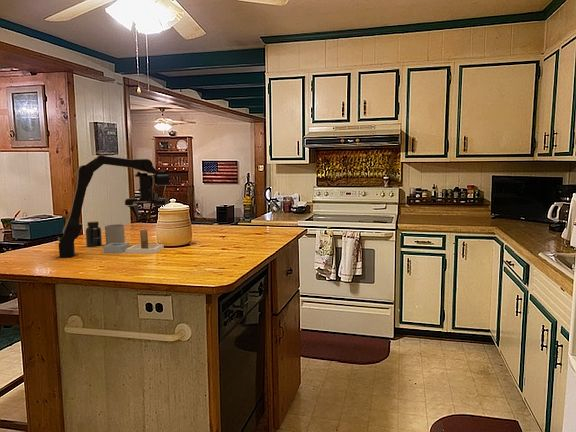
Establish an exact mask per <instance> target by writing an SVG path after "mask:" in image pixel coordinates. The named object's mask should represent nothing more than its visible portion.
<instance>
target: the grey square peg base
mask: <svg viewBox="0 0 576 432" xmlns="http://www.w3.org/2000/svg"><path fill="white" fill-rule="evenodd" d="M102 247H103V254H123V253H126V251H125V249H127V248H129V247H130V243H129V242H125V243H110V244H108V245H106V244H105V245H103V246H102Z"/></svg>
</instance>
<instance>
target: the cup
mask: <svg viewBox="0 0 576 432" xmlns="http://www.w3.org/2000/svg"><path fill="white" fill-rule="evenodd" d="M104 230H105V231H104V232H105V233H104V234H105V245H108V244H110V243H126V240H125V239H126V238H125V237H126V236H125V225H124V224H121V223H120V224H107V225H105V226H104Z"/></svg>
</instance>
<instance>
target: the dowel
mask: <svg viewBox="0 0 576 432" xmlns="http://www.w3.org/2000/svg"><path fill="white" fill-rule="evenodd" d="M139 235H140V244H141V249H148V244H149V236H148V230H147V229H143V230H140V231H139Z"/></svg>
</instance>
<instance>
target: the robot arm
mask: <svg viewBox="0 0 576 432" xmlns="http://www.w3.org/2000/svg"><path fill="white" fill-rule="evenodd" d="M103 165H106V166H108V165H109V166H116V167H123V168H130V169H132V170H136V171H137V172H136V173H135V174H133V177H134V178H135V177H136V178H138V183H139V184H138V185H139V189H138V192H139V199H138V197H135V198H133V197H131V198H130V197H129V198H125V200H124V206H127V208H130V210H131V211H132V213H133V216H135V218H136V221H140V215H139V213H140V212H139V206H140V205H141V204H149V205H150V204H156V205H155V216H156V221H159V220H158V212H159V211H158V208H160V207H161V206H162V207H163V205H164V207H166V206H167V205H169V204H170V201H169V198H168V197H159V198H158V195H159V194H158V193H157V192H155V190H154V186H153V184H154V185H155V186H156V187H161V186H162V187H166V186H167V187H168V186H170V181H171V180H170V177H169V176H170V175H169V173H168V170H163V171H157V170H156V168H155V167H154V165H153V162H152V160H150V159H148V158H137V159H131V158H122V157H114V156H107V155H105V154H99V155H97V156H96V157H95V158H94V159H92V160H91V161H89V162H88V163H87V164H85V165H84V164H83V165H80V166H78V168H77V169H76V186H75V192H74V195H73V201H72V205H71V207H70V208H71V209H70V213H69V216H68V218H67V220H66V222H65V225H64V226H63V229H62V232H61V233H60V235H59V236H57V240H58V253H59V255H58V256H55V258H56V259H70V258H74V257H75V256H78V255H79V254H78V253H76V250H75V249H76V248H75V247H76V246H75V240H76V239H78V238H79V236H80V235H82V232H81V231H82V228H83V225H84V224H82V222H80V217H81V214H82V209H83V205H84V200H85V195H86V192H87V188H88V186H89V183H90V182H91V181H92V179H93V175H94V173H95V172H96V171H97V170H98V169H100V168H101V167H102V166H103ZM165 205H166V206H165ZM164 207H163V208H164Z"/></svg>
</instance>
